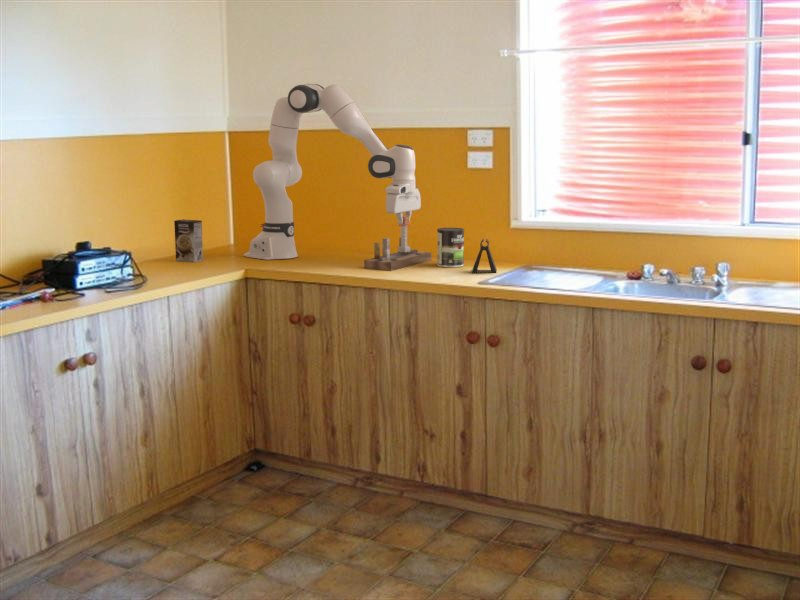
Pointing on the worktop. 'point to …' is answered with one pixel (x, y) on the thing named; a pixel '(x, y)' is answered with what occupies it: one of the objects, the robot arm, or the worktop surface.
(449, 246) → the coffee can
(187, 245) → the coffee box
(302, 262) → the worktop surface
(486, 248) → the black clip stand
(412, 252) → the bolt plate
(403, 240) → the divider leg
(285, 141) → the robot arm
